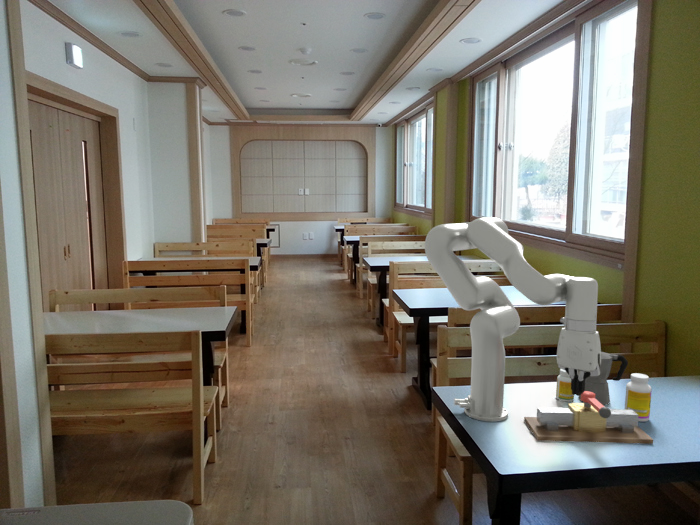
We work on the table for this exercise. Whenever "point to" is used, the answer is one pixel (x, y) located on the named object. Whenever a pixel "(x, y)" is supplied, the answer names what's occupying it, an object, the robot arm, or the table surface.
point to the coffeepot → (604, 377)
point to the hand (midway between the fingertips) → (577, 393)
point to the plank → (586, 434)
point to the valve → (586, 419)
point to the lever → (595, 404)
